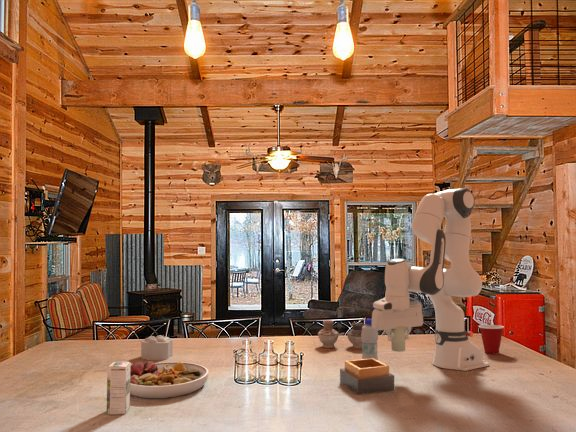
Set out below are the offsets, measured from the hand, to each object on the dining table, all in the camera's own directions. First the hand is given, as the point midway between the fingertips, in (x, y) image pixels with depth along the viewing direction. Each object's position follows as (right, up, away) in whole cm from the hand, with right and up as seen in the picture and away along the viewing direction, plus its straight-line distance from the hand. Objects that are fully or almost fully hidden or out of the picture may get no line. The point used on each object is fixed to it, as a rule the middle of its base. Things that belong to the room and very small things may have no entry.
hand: (398, 340), depth 188 cm
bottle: (-9, -15, +11) cm, 20 cm away
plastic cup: (+50, -15, +38) cm, 64 cm away
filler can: (0, -4, 0) cm, 4 cm away
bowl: (-85, -15, -8) cm, 86 cm away
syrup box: (-93, -14, -33) cm, 99 cm away
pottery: (-14, -16, +49) cm, 54 cm away
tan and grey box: (-13, -14, -9) cm, 21 cm away
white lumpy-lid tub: (-99, -16, +33) cm, 105 cm away
